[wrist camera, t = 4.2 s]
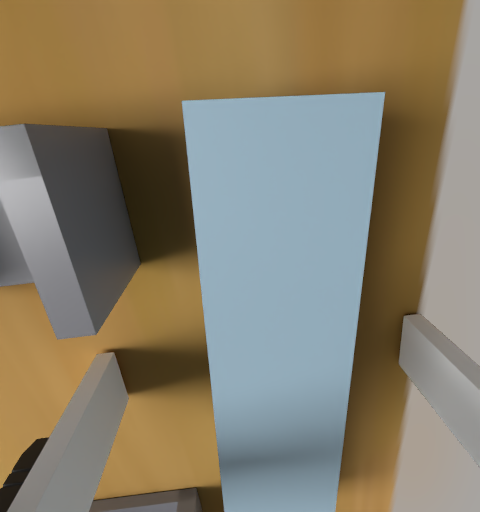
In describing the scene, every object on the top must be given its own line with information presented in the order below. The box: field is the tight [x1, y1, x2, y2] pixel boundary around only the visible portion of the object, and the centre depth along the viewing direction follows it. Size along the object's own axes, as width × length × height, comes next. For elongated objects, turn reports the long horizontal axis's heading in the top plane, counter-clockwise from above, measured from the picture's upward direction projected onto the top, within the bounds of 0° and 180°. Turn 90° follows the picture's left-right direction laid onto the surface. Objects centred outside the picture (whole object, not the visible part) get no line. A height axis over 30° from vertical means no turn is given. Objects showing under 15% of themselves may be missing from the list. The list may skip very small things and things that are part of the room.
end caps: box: [0, 124, 203, 512], centre depth 13 cm, size 24×8×5 cm, turn 6°
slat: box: [182, 92, 385, 512], centre depth 12 cm, size 20×4×5 cm, turn 2°
